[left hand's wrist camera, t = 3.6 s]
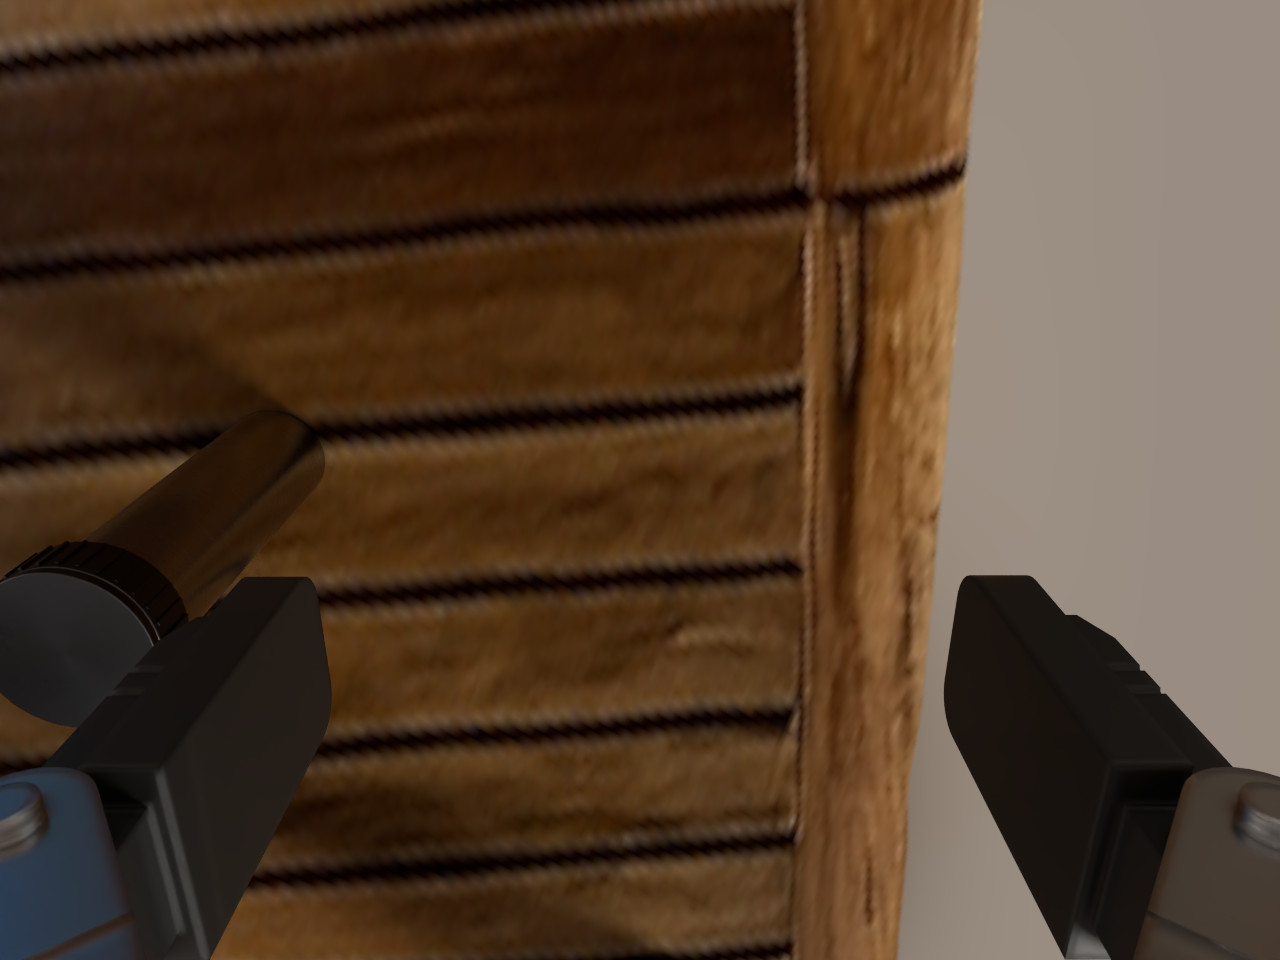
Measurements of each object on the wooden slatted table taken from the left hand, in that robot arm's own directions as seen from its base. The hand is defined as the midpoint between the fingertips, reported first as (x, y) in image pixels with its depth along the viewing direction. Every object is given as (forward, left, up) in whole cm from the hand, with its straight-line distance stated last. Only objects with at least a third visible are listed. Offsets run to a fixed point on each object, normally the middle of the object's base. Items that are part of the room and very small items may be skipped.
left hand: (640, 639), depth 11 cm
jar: (-8, +17, -29) cm, 35 cm away
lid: (-8, +17, -13) cm, 23 cm away
